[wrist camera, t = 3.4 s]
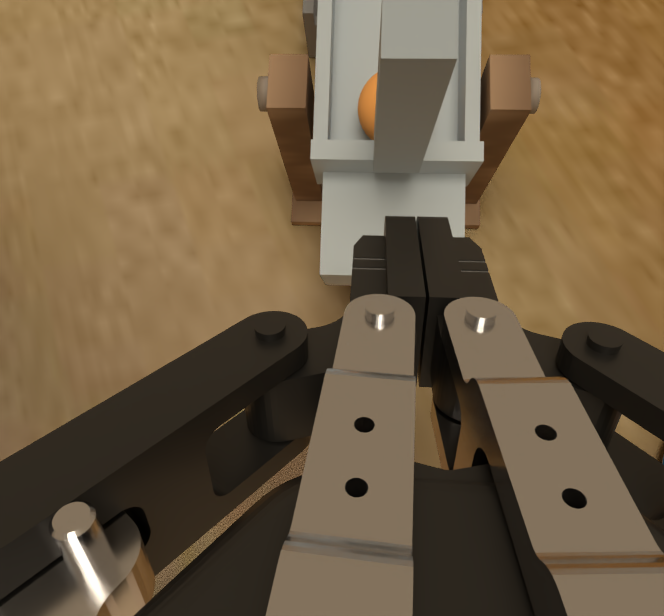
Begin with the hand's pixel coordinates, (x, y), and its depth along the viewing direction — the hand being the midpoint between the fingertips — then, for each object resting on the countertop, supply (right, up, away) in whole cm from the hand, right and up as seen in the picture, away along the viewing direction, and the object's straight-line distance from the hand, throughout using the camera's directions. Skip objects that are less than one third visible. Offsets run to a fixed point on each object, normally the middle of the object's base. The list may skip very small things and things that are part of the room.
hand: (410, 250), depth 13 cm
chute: (+1, +9, +14) cm, 16 cm away
